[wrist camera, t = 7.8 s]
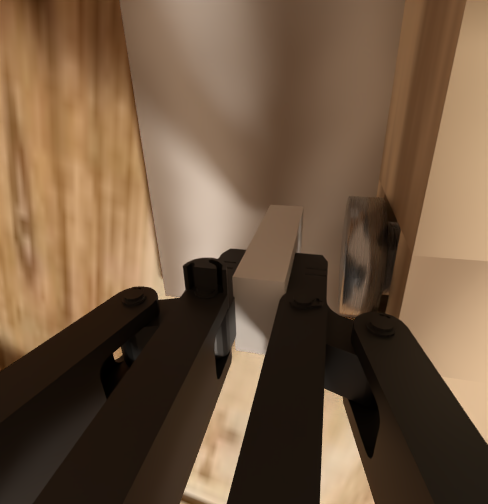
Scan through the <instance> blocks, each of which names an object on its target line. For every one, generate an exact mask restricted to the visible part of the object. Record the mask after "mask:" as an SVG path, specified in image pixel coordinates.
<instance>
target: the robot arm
mask: <svg viewBox="0 0 488 504" xmlns="http://www.w3.org/2000/svg"><path fill="white" fill-rule="evenodd" d="M303 211H304V206H286V205H270V206H269V208H268V210H267V212H266V214H265V216H264V218H263V220H262V222H261V223H260V225H259V227H258V229H257V231H256V233H255V235H254V237H253V239H252V241H251V242H250V244H249V246H248V248H247V250H243V249H231V248H230V249H229V250H227V251H225V252H224V253H222V254H221V255H220V257H219V258H218V259H216V258H198V259H194V260H191V261H189V262H187V263H186V264H184V265H183V273H184V281H185V291H184V293H183V294H182V295H181V297H180V298H175V299H164V300H158V295H157V293H156V291H155V290H153V289H151V288H149V287H132V288H129V289H126V290H123V291H122V292H120V293H118V294H116V295H115V296H113V297H112V298H110V299H109V300H107V301H106V302H104V303H103V304H101V305H100V306H98V307H97V308H95V309H94V310H92V311H91V312H89V313H88V314H86V315H85V316H83V317H82V318H80V319H79V320H77V321H76V322H74V323H73V324H71V325H70V326H68V327H67V328H65V329H64V330H62V331H61V332H59V333H58V334H56V335H55V336H53V337H52V338H50V339H49V340H47V341H46V342H44V343H43V344H41V345H40V346H38V347H37V348H35V349H34V350H32V351H31V352H29V353H28V354H26V355H25V356H23V357H22V358H20V359H19V360H17V361H16V362H14V363H13V364H11V365H10V366H8V367H7V368H5V369H4V370H2V371H1V372H0V504H180V501H181V498H182V495H183V493H184V490H185V487H186V484H187V482H188V479H189V476H190V474H191V471H192V468H193V465H194V463H195V460H196V457H197V454H198V452H199V449H200V446H201V444H202V441H203V438H204V435H205V433H206V430H207V427H208V424H209V422H210V419H211V416H212V414H213V411H214V408H215V405H216V403H217V400H218V397H219V394H220V392H221V389H222V386H223V383H224V381H225V378H226V375H227V373H228V370H229V367H230V364H231V360H232V351H231V347H232V345H233V342H234V340H235V344H236V350H237V351H244V352H251V353H257V354H264V355H265V358H264V362H263V366H262V370H261V374H260V377H259V381H258V385H257V389H256V393H255V397H254V401H253V404H252V408H251V412H250V416H249V420H248V424H247V428H246V431H245V435H244V439H243V443H242V447H241V451H240V455H239V458H238V462H237V466H236V470H235V474H234V478H233V482H232V485H231V489H230V493H229V497H228V501H227V504H320V481H321V455H322V429H323V404H324V388H325V389H327V390H329V391H331V392H334V393H336V394H338V395H340V396H343V404H344V407H345V410H346V413H347V416H348V419H349V423H350V426H351V429H352V432H353V435H354V438H355V442H356V445H357V448H358V451H359V454H360V458H361V461H362V464H363V467H364V470H365V473H366V477H367V480H368V483H369V486H370V489H371V492H372V496H373V499H374V502H375V504H488V444H487V443H486V441H485V440H484V438H483V437H482V436H481V434H480V433H479V431H478V430H477V428H476V427H475V425H474V424H473V422H472V421H471V419H470V418H469V416H468V415H467V413H466V412H465V411H464V409H463V408H462V406H461V405H460V403H459V402H458V400H457V399H456V397H455V396H454V394H453V393H452V391H451V390H450V388H449V387H448V386H447V384H446V383H445V381H444V380H443V378H442V377H441V375H440V374H439V372H438V371H437V369H436V368H435V366H434V365H433V363H432V362H431V361H430V359H429V358H428V356H427V355H426V353H425V352H424V350H423V349H422V347H421V346H420V344H419V343H418V341H417V340H416V338H415V337H414V336H413V334H412V333H411V331H410V330H409V328H408V327H407V326H406V325H405V324H404V323H403V322H402V321H401V320H399V319H398V318H396V317H394V316H392V315H389V314H385V313H382V312H366V313H362V314H360V315H358V316H356V318H355V320H351V319H347V318H345V317H342V316H340V315H338V314H337V313H335V312H334V311H333V310H331V309H330V307H329V306H328V304H327V275H328V261H327V260H326V259H325V258H324V256H323V255H317V254H305V253H301V247H302V229H303ZM120 347H121V349H122V353H123V355H122V356H121V357H120V358H118V359H116V360H114V357H113V353H114V352H115V351H116V350H117V349H118V348H120Z"/></svg>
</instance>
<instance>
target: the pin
mask: <svg viewBox="0 0 488 504" xmlns="http://www.w3.org/2000/svg"><path fill="white" fill-rule="evenodd" d="M400 232H401V228H400V226H399V224H398V222H388V217H387V207H386V202H385V200H384V198H383V197H359V196H349V197H348V200H347V204H346V210H345V217H344V225H343V234H342V244H341V256H340V270H339V289H338V310H339V313H340V314H348V315H357V316H358V315H360V314H362V313H366V312H377V310H378V307H379V304H380V300H381V295H382V294H383V295H389V291H390V285H391V280H392V275H393V269H394V264H395V259H396V254H397V248H398V243H399V238H400Z"/></svg>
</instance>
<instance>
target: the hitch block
mask: <svg viewBox="0 0 488 504" xmlns="http://www.w3.org/2000/svg"><path fill="white" fill-rule="evenodd" d="M119 2H120V8H121V14H122V21H123V27H124V33H125V40H126V46H127V53H128V59H129V65H130V72H131V78H132V84H133V91H134V97H135V104H136V110H137V116H138V123H139V129H140V135H141V142H142V148H143V154H144V161H145V167H146V174H147V180H148V186H149V193H150V199H151V205H152V212H153V218H154V225H155V231H156V237H157V244H158V250H159V256H160V263H161V269H162V275H163V282H164V288H165V295H166V296H173V297H181V295H182V294H183V293H184V291H185V281H184V273H183V265H184V264H186V263H187V262H189V261H191V260H194V259H198V258H216V259H218V258H219V257H220V255H221V254H222V253H224V252H225V251H227V250H229V249H230V248H231V249H243V250H247V248H248V246H249V244H250V242H251V241H252V239H253V237H254V235H255V233H256V231H257V229H258V227H259V225H260V223H261V222H262V220H263V218H264V216H265V214H266V212H267V210H268V208H269V206H270V205H286V206H304V211H303V229H302V247H301V253H305V254H317V255H323V256H324V258H325V259H326V260H327V261H328V275H327V304H328V306H329V307H330V309H331V310H333V311H334V312H335V313H337V314H338V315H340V316H345V317H353V318H356V316H357V315H348V314H340V313H339V310H338V289H339V270H340V256H341V244H342V234H343V225H344V217H345V210H346V204H347V200H348V197H349V196H359V197H383V198H384V200H385V202H386V207H387V217H388V222H398V224H399V226H400V228H401V232H400V238H399V243H398V248H397V254H396V259H395V264H394V269H393V275H392V280H391V285H390V291H389V295H383V294H382V295H381V300H380V304H379V307H378V310H377V312H382V313H385V314H389V315H392V316H394V317H396V318H398V319H399V320H401V321H402V322H403V323H404V324H405V325H406V326H407V327H408V328H409V330H410V331H411V333H412V334H413V336H414V337H415V338H416V340H417V341H418V343H419V344H420V346H421V347H422V349H423V350H424V352H425V353H426V355H427V356H428V358H429V359H430V361H431V362H432V363H433V365H434V366H435V368H436V369H437V371H438V372H439V374H440V375H441V377H442V378H443V380H444V381H445V383H446V384H447V386H448V387H449V388H450V390H451V391H452V393H453V394H454V396H455V397H456V399H457V400H458V402H459V403H460V405H461V406H462V408H463V409H464V411H465V412H466V413H467V415H468V416H469V418H470V419H471V421H472V422H473V424H474V425H475V427H476V428H477V430H478V431H479V433H480V434H481V436H482V437H483V438H484V440H485V441H486V443H487V444H488V0H119Z"/></svg>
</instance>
